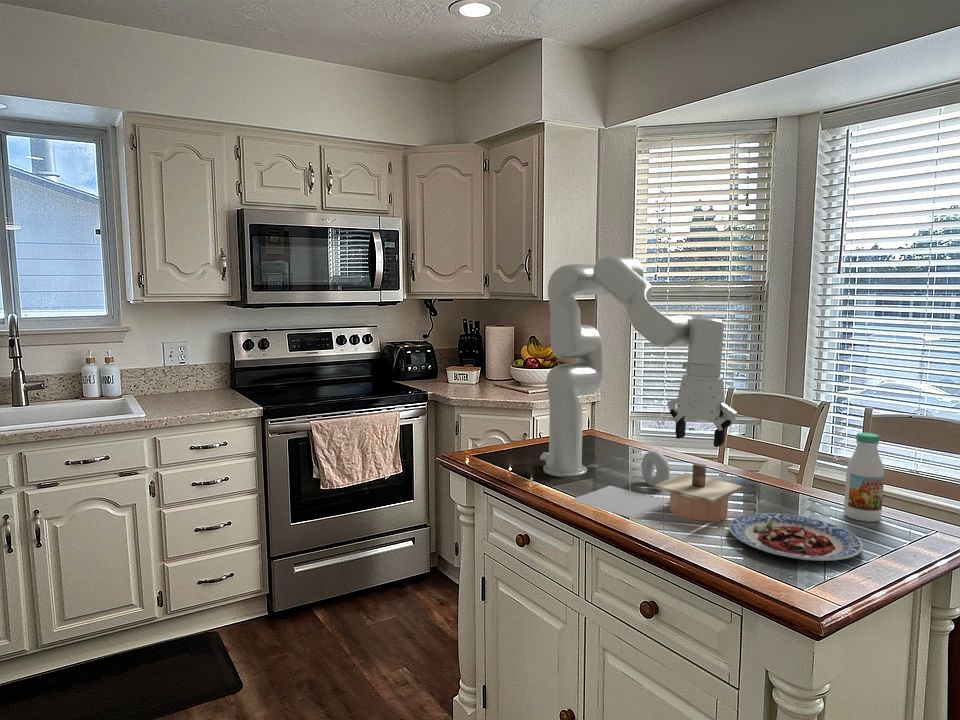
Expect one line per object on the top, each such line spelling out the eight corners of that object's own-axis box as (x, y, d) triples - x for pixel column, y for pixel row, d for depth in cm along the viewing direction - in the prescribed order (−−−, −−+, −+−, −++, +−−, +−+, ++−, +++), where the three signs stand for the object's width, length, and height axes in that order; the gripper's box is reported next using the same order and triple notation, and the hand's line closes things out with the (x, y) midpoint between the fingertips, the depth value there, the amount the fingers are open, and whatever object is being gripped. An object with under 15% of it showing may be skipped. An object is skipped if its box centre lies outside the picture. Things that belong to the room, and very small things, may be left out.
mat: (570, 502, 167) (570, 499, 167) (610, 487, 179) (610, 485, 179) (631, 520, 154) (631, 518, 154) (670, 503, 166) (670, 501, 166)
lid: (653, 488, 159) (654, 464, 158) (685, 475, 169) (686, 453, 169) (712, 503, 148) (714, 478, 148) (743, 489, 159) (744, 465, 158)
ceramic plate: (893, 561, 133) (894, 546, 133) (786, 577, 126) (787, 561, 125) (797, 517, 158) (798, 505, 157) (704, 528, 150) (704, 515, 150)
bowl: (659, 512, 160) (660, 488, 159) (686, 500, 169) (687, 477, 168) (710, 527, 150) (711, 501, 150) (736, 513, 159) (737, 489, 159)
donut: (671, 492, 175) (673, 455, 174) (661, 493, 174) (662, 456, 173) (648, 481, 185) (649, 446, 183) (637, 483, 183) (639, 447, 182)
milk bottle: (835, 513, 159) (841, 432, 157) (858, 509, 162) (864, 429, 160) (865, 524, 152) (872, 439, 150) (888, 520, 155) (895, 436, 153)
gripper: (662, 367, 159) (658, 437, 162) (731, 377, 147) (726, 452, 149) (678, 364, 164) (674, 432, 167) (746, 373, 152) (741, 446, 154)
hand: (698, 441), depth 158 cm, fingers open, 9 cm apart
